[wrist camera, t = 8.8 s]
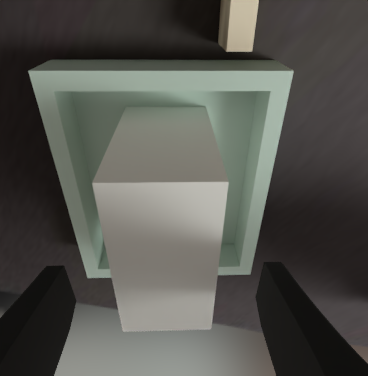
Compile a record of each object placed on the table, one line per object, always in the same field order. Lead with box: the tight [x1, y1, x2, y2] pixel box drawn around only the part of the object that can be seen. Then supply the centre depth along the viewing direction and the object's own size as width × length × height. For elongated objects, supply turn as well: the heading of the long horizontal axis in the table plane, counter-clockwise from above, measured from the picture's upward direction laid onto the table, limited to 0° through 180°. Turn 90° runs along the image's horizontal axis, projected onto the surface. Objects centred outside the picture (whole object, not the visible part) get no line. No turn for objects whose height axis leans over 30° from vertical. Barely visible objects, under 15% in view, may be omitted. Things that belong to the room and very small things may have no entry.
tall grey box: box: [92, 107, 229, 332], centre depth 14 cm, size 9×4×7 cm, turn 179°
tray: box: [28, 60, 294, 278], centre depth 16 cm, size 13×11×2 cm
